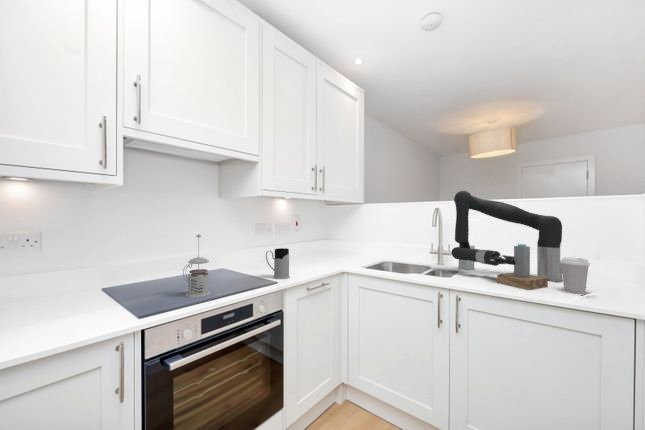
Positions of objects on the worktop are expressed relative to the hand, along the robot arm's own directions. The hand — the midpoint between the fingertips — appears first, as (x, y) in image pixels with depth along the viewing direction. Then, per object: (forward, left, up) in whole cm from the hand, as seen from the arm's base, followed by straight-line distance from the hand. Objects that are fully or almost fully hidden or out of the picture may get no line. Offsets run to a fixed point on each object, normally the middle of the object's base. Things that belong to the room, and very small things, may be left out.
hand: (520, 262), depth 129 cm
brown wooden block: (0, 0, -12) cm, 12 cm away
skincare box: (+8, -41, -12) cm, 43 cm away
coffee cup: (-16, +9, -12) cm, 22 cm away
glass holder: (+119, -6, -12) cm, 119 cm away
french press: (+144, +29, -12) cm, 147 cm away
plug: (0, 0, -11) cm, 11 cm away
